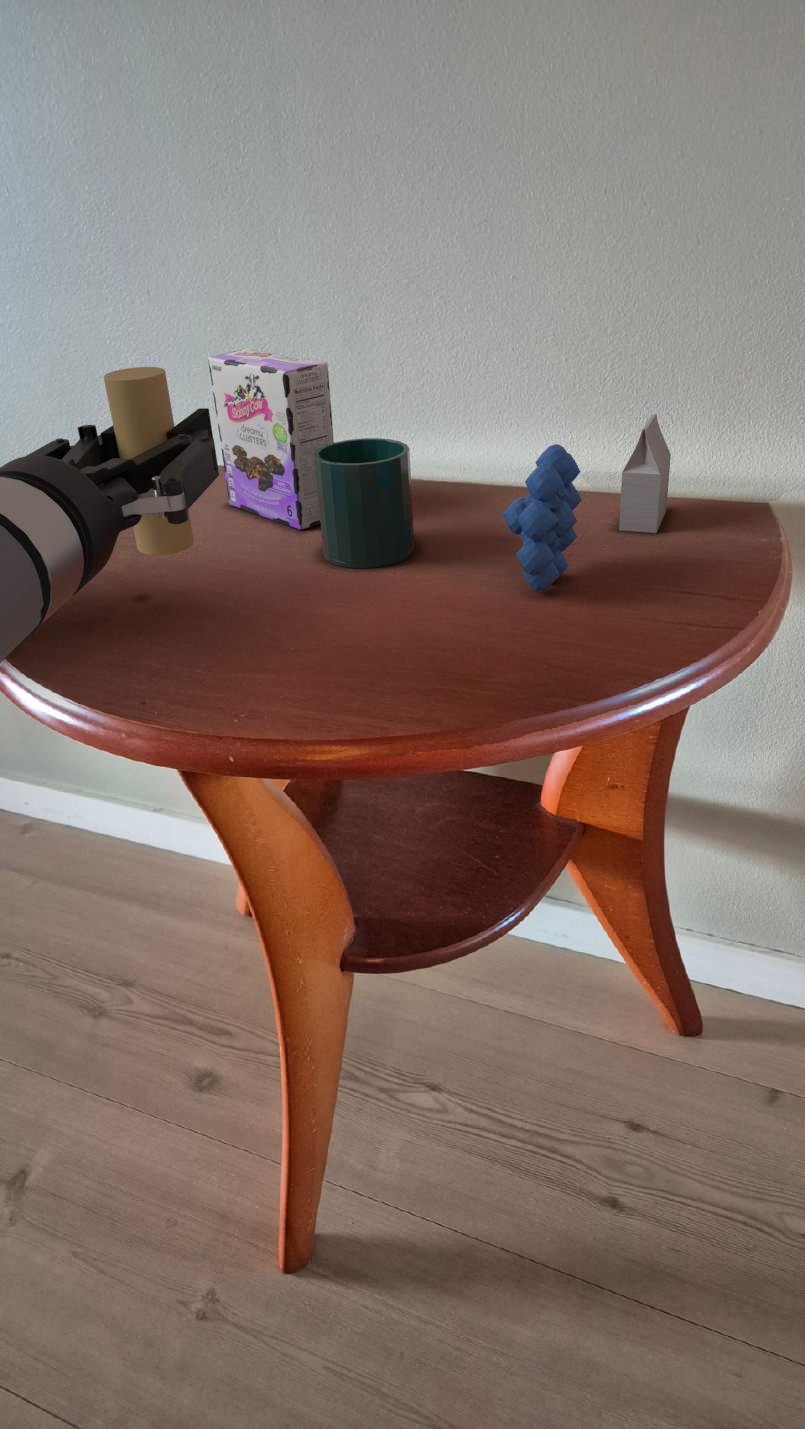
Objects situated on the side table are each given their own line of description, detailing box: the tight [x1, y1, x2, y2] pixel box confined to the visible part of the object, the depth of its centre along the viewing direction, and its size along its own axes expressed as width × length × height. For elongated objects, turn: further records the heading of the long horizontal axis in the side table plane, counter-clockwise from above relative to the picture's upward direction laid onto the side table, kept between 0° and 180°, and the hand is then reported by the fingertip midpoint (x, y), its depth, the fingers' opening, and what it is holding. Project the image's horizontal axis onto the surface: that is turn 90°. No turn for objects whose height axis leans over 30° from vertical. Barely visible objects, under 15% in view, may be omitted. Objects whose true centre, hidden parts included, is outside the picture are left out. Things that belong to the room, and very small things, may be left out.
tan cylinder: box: [103, 366, 195, 556], centre depth 68 cm, size 4×4×12 cm
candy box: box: [207, 348, 335, 531], centre depth 106 cm, size 14×6×16 cm, turn 43°
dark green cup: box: [313, 437, 415, 569], centre depth 96 cm, size 9×9×10 cm
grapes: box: [502, 443, 582, 593], centre depth 86 cm, size 12×7×12 cm, turn 157°
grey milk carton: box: [618, 413, 672, 534], centre depth 99 cm, size 4×7×10 cm, turn 159°
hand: (175, 427), depth 72 cm, fingers closed on tan cylinder, 4 cm apart
